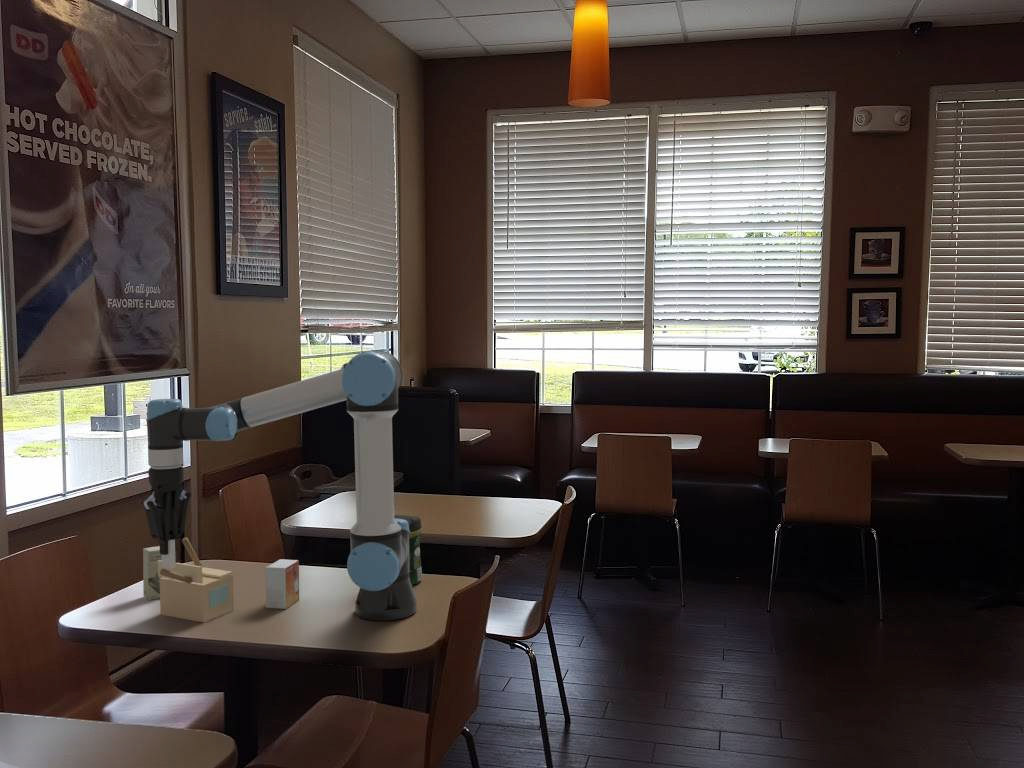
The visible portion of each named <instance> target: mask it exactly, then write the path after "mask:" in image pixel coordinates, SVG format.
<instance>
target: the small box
mask: <svg viewBox="0 0 1024 768" xmlns="http://www.w3.org/2000/svg"><path fill="white" fill-rule="evenodd" d="M264 574H265V607H266V609H280V610H281V609H282V610H284V609H285V610H286V609H288V608H289V607H290V606H292V605H294V604H295V603H297V602H299V601H300V561H299V560H298V559H282V558H281V559H278V560H276V561H275V562H273V563H271V564H270V565H267V566H266V567H265V573H264Z"/></svg>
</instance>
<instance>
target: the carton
mask: <svg viewBox="0 0 1024 768" xmlns="http://www.w3.org/2000/svg"><path fill="white" fill-rule="evenodd" d="M202 578H203V583H201V584H200V583H194V582H192V583H190V584H189V583H186V582H183V581H179V580H176V579H169V578H163V577H162V578H160V598H159V601H160V602H159V603H160V604H159V608H160V610H159V611H160V615H161V616H167V617H172V618H176V619H183V620H189V621H194V622H198V623H207V622H209V621H211V620H214V619H216V618H218V617H221V616H224V615H225V614H228V613H230V612H233V611H234V610H235V609H234V608H235V607H234V606H235V605H234V604H235V603H234V600H235V599H234V574H233V573H232V574H231V575H228V576H226V577H223V578H215V577H209V576H202Z"/></svg>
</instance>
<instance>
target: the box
mask: <svg viewBox="0 0 1024 768" xmlns="http://www.w3.org/2000/svg"><path fill="white" fill-rule="evenodd" d="M142 554H143V555H142V557H143V558H142V560H143V562H142V564H143V565H142V566H143V569H142V573H143V574H142V577H143V578H142V579H143V581H142V582H143V585H142V586H143V597H144V598H145V599H147V600H149V601H150V600H151V601H152V600H156V599H160V578H162V577H158V563H157V561H158V560H162V555H161V554H160V545H158V546H151V547H144V548H142Z"/></svg>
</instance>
